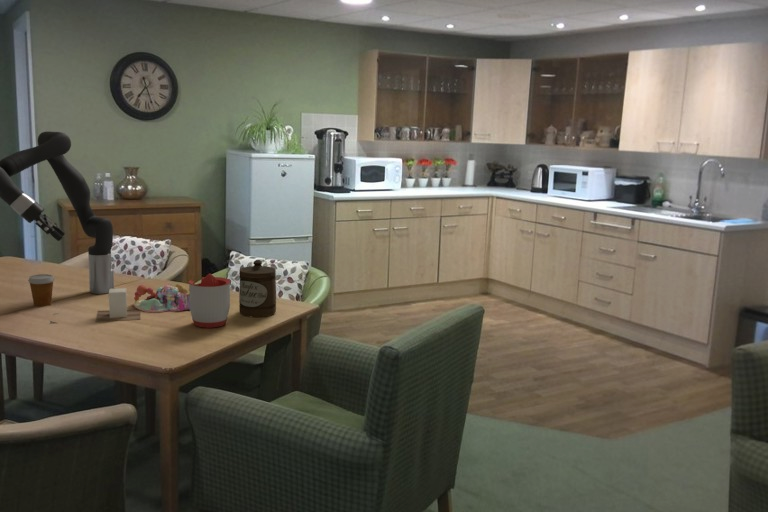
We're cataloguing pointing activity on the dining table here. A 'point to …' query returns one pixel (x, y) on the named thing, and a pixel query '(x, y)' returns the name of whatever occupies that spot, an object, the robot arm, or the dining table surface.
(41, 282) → the disposable coffee cup
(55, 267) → the dining table surface
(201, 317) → the citrus juicer
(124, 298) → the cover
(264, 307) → the wooden container
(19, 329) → the dining table surface
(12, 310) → the dining table surface
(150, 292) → the pastel sphere sculpture
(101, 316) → the board
